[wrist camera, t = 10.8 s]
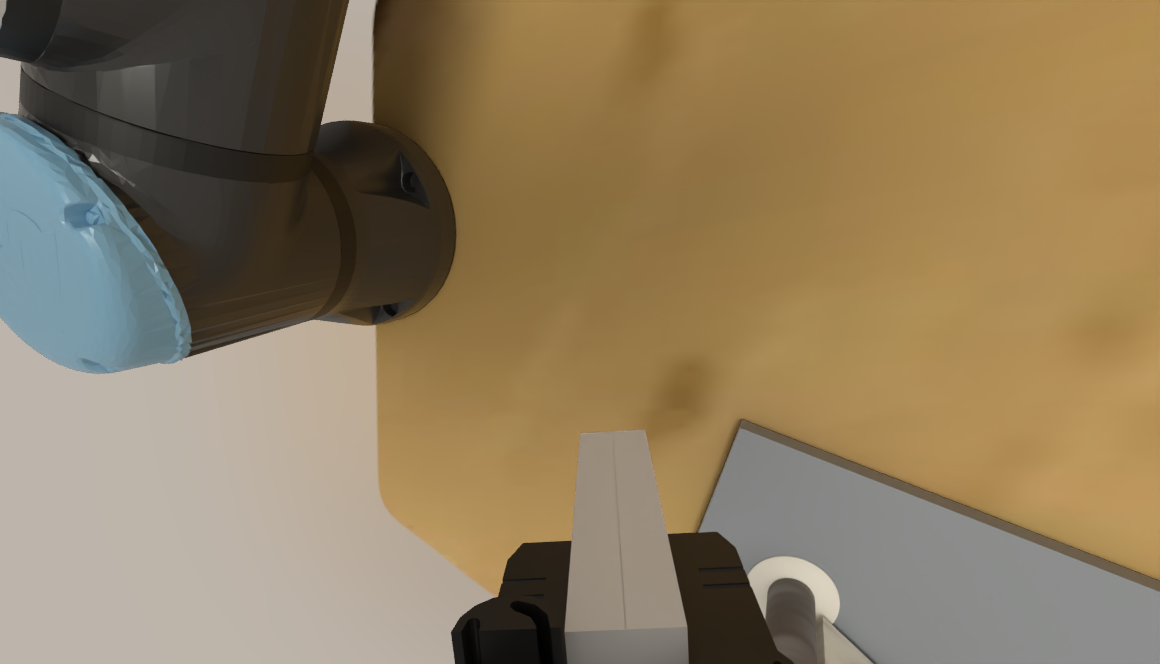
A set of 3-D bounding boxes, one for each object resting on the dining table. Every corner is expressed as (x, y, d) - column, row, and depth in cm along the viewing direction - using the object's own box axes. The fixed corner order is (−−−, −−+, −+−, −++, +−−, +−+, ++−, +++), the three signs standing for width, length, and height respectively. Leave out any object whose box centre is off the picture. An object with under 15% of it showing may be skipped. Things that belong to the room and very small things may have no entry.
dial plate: (650, 650, 46) (645, 666, 45) (742, 419, 40) (739, 429, 38) (1012, 834, 40) (1020, 860, 38) (1196, 594, 33) (1215, 615, 31)
